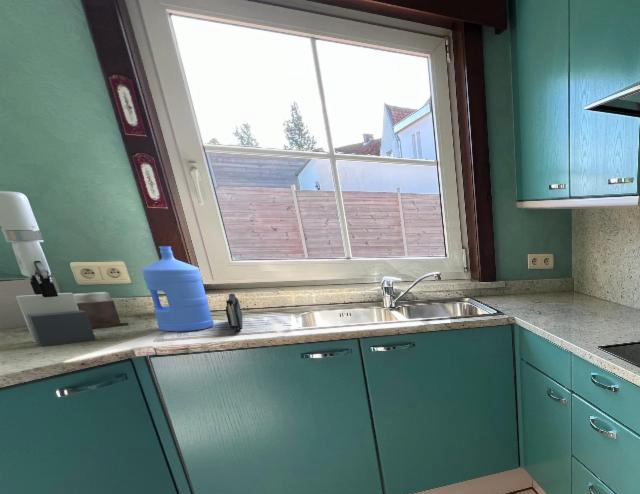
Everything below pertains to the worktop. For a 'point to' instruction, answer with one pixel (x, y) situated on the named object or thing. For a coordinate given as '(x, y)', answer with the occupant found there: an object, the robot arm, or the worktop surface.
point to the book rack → (99, 309)
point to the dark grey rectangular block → (61, 327)
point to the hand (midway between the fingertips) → (46, 295)
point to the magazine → (234, 313)
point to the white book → (45, 306)
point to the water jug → (178, 294)
